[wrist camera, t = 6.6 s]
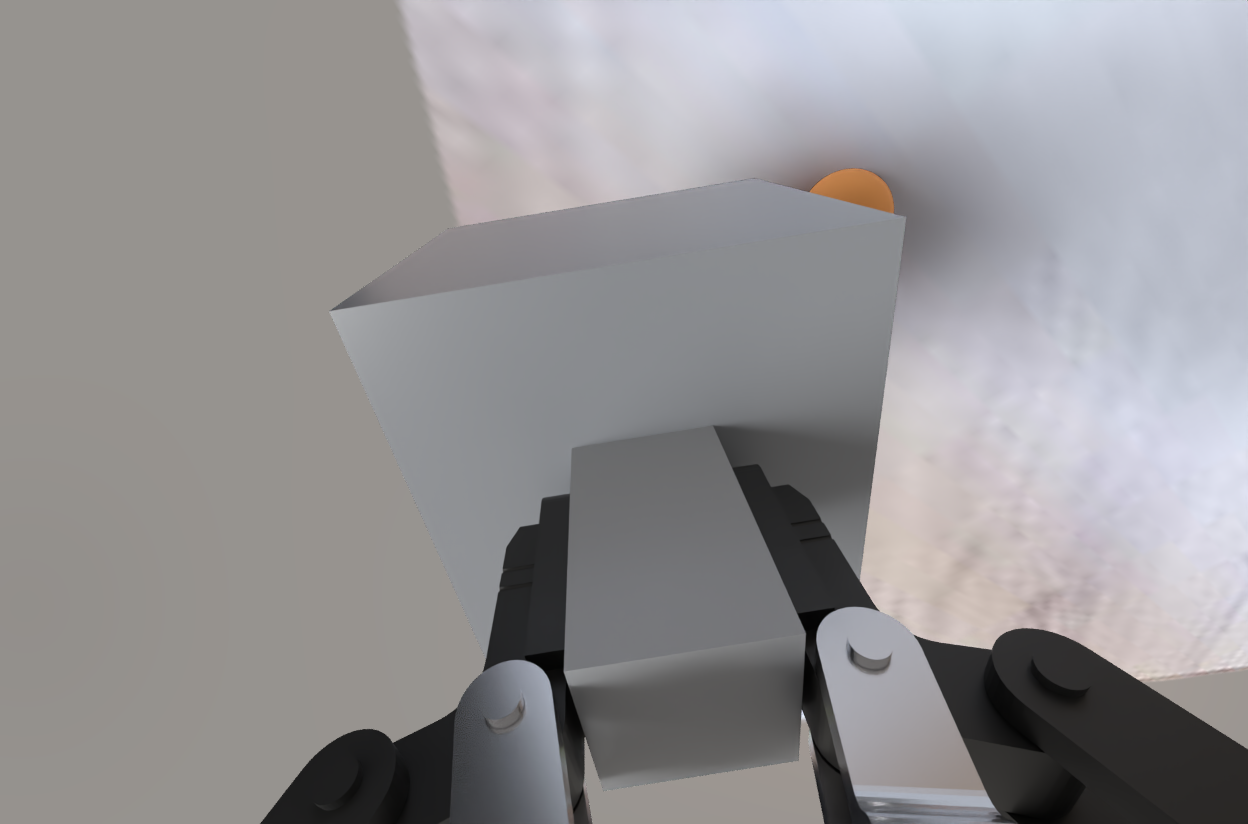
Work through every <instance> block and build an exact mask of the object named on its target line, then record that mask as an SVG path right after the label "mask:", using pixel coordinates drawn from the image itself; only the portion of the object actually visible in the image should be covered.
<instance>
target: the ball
mask: <svg viewBox="0 0 1248 824" xmlns="http://www.w3.org/2000/svg"><path fill="white" fill-rule="evenodd" d="M810 193H814V194H818V195H822V196H826V197H830V198H834V199H838V200H842V201H846V202H850V203H853V204H857V205H861V206H865V207H869V208H873V209H877V210H881V211H885V212H889V213H893V214H894V202H893V197H892V194H891V191H890V189H889V187H888V186H887V184H886V183H885V182H884V181H883V180H882V179H881V178H880V177H879V176H877V175H876V174H874V173H872V172H870V171H867V170H863V169H856V168H851V169H843V170H839V171H837V172H834V173H831V174H829V175H828V176H826V177H824V178H823V179H822V180H820V181H819V182H818V183H817V184H816V185H815V186H814V187H813V188H812V189H811V190H810Z"/></svg>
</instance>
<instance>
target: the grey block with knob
mask: <svg viewBox="0 0 1248 824" xmlns="http://www.w3.org/2000/svg"><path fill="white" fill-rule="evenodd" d="M906 218H907V217H904V216H900V215H897V214H893V213H889V212H885V211H881V210H877V209H873V208H869V207H865V206H861V205H857V204H853V203H850V202H846V201H842V200H838V199H834V198H830V197H826V196H822V195H818V194H814V193H810V192H806V191H803V190H799V189H795V188H791V187H787V186H783V185H779V184H775V183H771V182H767V181H763V180H759V179H756V178H753V179H747V180H741V181H735V182H729V183H722V184H716V185H710V186H704V187H698V188H692V189H686V190H680V191H674V192H668V193H661V194H655V195H649V196H643V197H637V198H631V199H625V200H619V201H613V202H607V203H600V204H594V205H588V206H582V207H576V208H570V209H564V210H558V211H552V212H546V213H539V214H533V215H527V216H521V217H515V218H509V219H503V220H497V221H491V222H485V223H478V224H472V225H466V226H460V227H454V228H448V229H446V230H445V231H444V232H442V233H441V234H439V235H438V236H436V237H435V238H433V239H432V240H431V241H429V242H428V243H427V244H425V245H423V246H422V247H421V248H419V249H418V250H416V251H415V252H413V253H412V254H410V255H409V256H408V257H406V258H405V259H403V260H402V261H400V262H399V263H398V264H396V265H395V266H393V267H392V268H390V269H389V270H388V271H386V272H385V273H383V274H382V275H380V276H379V277H377V278H376V279H375V280H373V281H372V282H370V283H369V284H367V285H366V286H365V287H363V288H362V289H360V290H359V291H357V292H356V293H355V294H353V295H352V296H350V297H349V298H347V299H346V300H344V301H343V302H342V303H340V304H339V305H338V306H336V307H334V308H333V309H332V310H330V311H329V312H330V314H331V317H332V319H333V321H334V323H335V325H336V328H337V330H338V332H339V334H340V337H341V339H342V341H343V343H344V345H345V347H346V350H347V352H348V354H349V357H350V358H351V361H352V363H353V365H354V368H355V370H356V372H357V374H358V377H359V379H360V381H361V383H362V385H363V388H364V390H365V392H366V394H367V397H368V399H369V401H370V403H371V405H372V407H373V410H374V412H375V414H376V416H377V419H378V421H379V423H380V425H381V428H382V430H383V432H384V434H385V437H386V439H387V441H388V443H389V445H390V447H391V450H392V452H393V454H394V457H395V459H396V461H397V463H398V465H399V467H400V470H401V472H402V474H403V476H404V479H405V481H406V483H407V485H408V488H409V490H410V492H411V494H412V497H413V499H414V501H415V503H416V505H417V508H418V510H419V512H420V514H421V517H422V519H423V521H424V523H425V525H426V528H427V530H428V532H429V534H430V536H431V539H432V541H433V543H434V545H435V548H436V549H437V552H438V554H439V556H440V559H441V561H442V563H443V565H444V568H445V570H446V572H447V574H448V576H449V579H450V581H451V583H452V585H453V588H454V590H455V592H456V594H457V596H458V599H459V601H460V603H461V605H462V608H463V610H464V612H465V614H466V616H467V619H468V621H469V623H470V625H471V628H472V630H473V632H474V634H475V636H476V639H477V641H478V643H479V645H480V648H481V650H482V652H483V654H484V656H485V659H486V656H487V651H488V645H489V640H490V634H491V629H492V623H493V618H494V612H495V607H496V602H497V596H498V592H499V591H500V589H499V585H500V580H501V574H502V573H503V563H504V558H505V552H506V547H507V545H508V544H509V542H510V541H511V539H512V538H513V536H514V535H515V534H516V532H517V531H518V529H519V528H520V527H522V526H528V525H534V524H539V518H540V509H541V501H542V498H545V497H551V496H557V495H563V494H570V509H569V538H568V566H567V594H566V622H565V650H564V674H565V677H566V680H567V683H568V686H569V689H570V692H571V695H572V698H573V701H574V704H575V707H576V710H577V713H578V716H579V719H580V722H581V725H582V728H583V731H584V734H585V737H586V740H587V743H588V746H589V749H590V752H591V755H592V758H593V761H594V764H595V767H596V770H597V773H598V776H599V779H600V782H601V785H602V788H603V791H607V790H613V789H619V788H626V787H632V786H639V785H645V784H651V783H658V782H665V781H671V780H677V779H684V778H690V777H696V776H703V775H709V774H715V773H722V772H728V771H735V770H741V769H747V768H754V767H761V766H767V765H774V764H780V763H787V762H793V761H798V760H799V745H800V727H801V711H802V693H803V676H804V658H805V641H806V633H805V630H804V628H803V626H802V624H801V621H800V619H799V617H798V615H797V613H796V610H795V608H794V606H793V604H792V601H791V599H790V597H789V595H788V592H787V590H786V588H785V586H784V583H783V581H782V579H781V577H780V574H779V572H778V570H777V568H776V566H775V563H774V561H773V559H772V557H771V554H770V552H769V550H768V548H767V545H766V543H765V541H764V539H763V536H762V534H761V532H760V530H759V527H758V525H757V523H756V521H755V519H754V516H753V514H752V512H751V510H750V507H749V505H748V503H747V501H746V498H745V496H744V494H743V492H742V489H741V487H740V485H739V483H738V480H737V478H736V476H735V474H734V472H733V469H732V468H734V467H740V466H747V465H753V464H758V465H759V466H760V467H761V469H762V471H763V473H764V475H765V476H766V478H767V480H768V482H769V484H770V486H771V487H775V486H781V485H787V484H789V485H790V486H792V487H793V488H795V489H796V490H797V491H799V492H800V493H801V494H803V495H804V496H805V497H807V498H808V499H809V500H810V501H811V503H812V505H813V506H814V508H815V509H816V511H817V513H818V514H819V516H820V518H821V521H822V523H824V524H825V526H826V527H827V529H828V531H829V532H830V534H831V537H832V539H834V540H835V542H836V544H837V545H838V547H839V548H840V550H841V552H842V553H843V555H844V557H845V558H846V560H847V561H848V563H849V565H850V566H851V568H852V569H853V571H854V573H855V574H856V576H857V578H858V579H859V581H860V574H861V566H862V558H863V550H864V543H865V535H866V527H867V519H868V512H869V504H870V496H871V488H872V481H873V473H874V465H875V457H876V450H877V442H878V434H879V427H880V419H881V411H882V403H883V396H884V388H885V380H886V372H887V365H888V357H889V349H890V341H891V334H892V326H893V318H894V310H895V303H896V295H897V287H898V279H899V272H900V264H901V256H902V249H903V241H904V233H905V225H906Z"/></svg>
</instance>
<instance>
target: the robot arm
mask: <svg viewBox="0 0 1248 824" xmlns="http://www.w3.org/2000/svg"><path fill="white" fill-rule="evenodd" d="M732 469H733V472H734V474H735V476H736V478H737V480H738V483H739V485H740V487H741V489H742V492H743V494H744V496H745V498H746V501H747V503H748V505H749V507H750V510H751V512H752V514H753V516H754V519H755V521H756V523H757V525H758V527H759V530H760V532H761V534H762V536H763V539H764V541H765V543H766V545H767V548H768V550H769V552H770V554H771V557H772V559H773V561H774V563H775V566H776V568H777V570H778V572H779V574H780V577H781V579H782V581H783V583H784V586H785V588H786V590H787V592H788V595H789V597H790V599H791V601H792V604H793V606H794V608H795V610H796V613H797V615H798V617H799V619H800V621H801V624H802V626H803V628H804V630H805V633H806V641H805V658H804V676H803V693H802V710H803V713H804V716H805V718H806V721H807V724H808V726H809V749H810V754H811V759H812V764H813V769H814V774H815V779H816V784H817V789H818V795H819V799H820V804H821V809H822V814H823V819H824V824H1248V749H1246V748H1245V747H1243V746H1241V745H1240V744H1238V743H1237V742H1235V741H1234V740H1232V739H1231V738H1229V737H1227V736H1226V735H1224V734H1223V733H1221V732H1219V731H1218V730H1216V729H1215V728H1213V727H1212V726H1210V725H1208V724H1207V723H1205V722H1204V721H1202V720H1200V719H1199V718H1197V717H1196V716H1194V715H1193V714H1191V713H1189V712H1188V711H1186V710H1185V709H1183V708H1181V707H1180V706H1178V705H1177V704H1175V703H1174V702H1172V701H1170V700H1169V699H1167V698H1166V697H1164V696H1162V695H1161V694H1159V693H1158V692H1156V691H1154V690H1153V689H1151V688H1150V687H1148V686H1147V685H1145V684H1143V683H1142V682H1140V681H1139V680H1137V679H1136V678H1134V677H1132V676H1131V675H1129V674H1128V673H1126V672H1125V671H1123V670H1121V669H1120V668H1118V667H1117V666H1115V665H1113V664H1112V663H1110V662H1109V661H1107V660H1106V659H1104V658H1102V657H1101V656H1099V655H1098V654H1096V653H1094V652H1093V651H1091V650H1090V649H1088V648H1086V647H1085V646H1083V645H1081V644H1079V643H1078V642H1076V641H1073V640H1071V639H1069V638H1067V637H1064V636H1062V635H1059V634H1056V633H1053V632H1049V631H1045V630H1039V629H1028V628H1022V629H1015V630H1011V631H1008V632H1006V633H1004V634H1003V635H1001V636H1000V637H999V638H998V639H997V640H996V642H995V644H994V646H993V648H992V650H989V649H982V648H975V647H967V646H960V645H953V644H946V643H939V642H934V641H930V640H926V639H923V638H920V637H917V636H915V635H913V634H912V633H911V632H910V631H909V630H908V629H907V628H906V627H905V626H904V625H902V624H901V623H900V622H899V621H897V620H896V619H894V618H892V617H891V616H889V615H887V614H884V613H882V612H880V611H879V610H878V609H877V608H876V606H875V605H874V603H873V602H872V600H871V599H870V597H869V595H868V594H867V592H866V591H865V589H864V587H863V586H862V584H861V582H860V581H859V579H858V578H857V576H856V574H855V573H854V571H853V569H852V568H851V566H850V565H849V563H848V561H847V560H846V558H845V557H844V555H843V553H842V552H841V550H840V548H839V547H838V545H837V544H836V542H835V540H834V539H832V537H831V534H830V532H829V531H828V529H827V527H826V526H825V524H824V523H822V521H821V518H820V516H819V514H818V513H817V511H816V509H815V508H814V506H813V505H812V503H811V501H810V500H809V499H808V498H807V497H805V496H804V495H803V494H801V493H800V492H799V491H797V490H796V489H795V488H793V487H792V486H790V485H789V484H787V485H781V486H775V487H771V486H770V484H769V482H768V480H767V478H766V476H765V475H764V473H763V471H762V469H761V467H760V466H759V465H758V464H753V465H747V466H740V467H734V468H732ZM569 509H570V494H563V495H557V496H551V497H545V498H542V501H541V509H540V518H539V524H534V525H528V526H522V527H520V528H519V529H518V531H517V532H516V534H515V535H514V536H513V538H512V539H511V541H510V542H509V544H508V545H507V547H506V552H505V558H504V563H503V573H502V574H501V580H500V585H499V589H500V591H499V592H498V596H497V602H496V607H495V612H494V618H493V623H492V629H491V634H490V640H489V645H488V651H487V656H486V662H485V666H484V670H483V673H482V674H480V675H479V676H478V677H477V678H476V679H475V680H474V681H473V682H472V683H471V684H470V685H469V687H468V688H467V689H466V691H465V692H464V694H463V696H462V697H461V700H460V702H459V704H458V707H457V708H456V709H455V710H454V711H453V712H451V713H450V714H448V715H447V716H445V717H443V718H442V719H440V720H438V721H436V722H434V723H432V724H430V725H428V726H426V727H424V728H422V729H420V730H418V731H416V732H414V733H412V734H410V735H408V736H406V737H404V738H402V739H400V740H398V741H396V742H394V743H392V741H391V740H390V738H389V737H387V736H386V735H385V734H384V733H382V732H380V731H377V730H373V729H363V730H357V731H353V732H351V733H348V734H345V735H343V736H341V737H339V738H337V739H336V740H334V741H333V742H331V743H330V744H328V745H327V746H326V747H325V748H323V749H322V750H321V751H319V752H318V753H317V754H316V755H315V756H314V757H313V758H312V759H311V760H310V761H309V763H308V764H307V765H306V766H305V767H304V768H303V770H302V771H301V772H300V773H299V775H298V776H297V777H296V778H295V780H294V781H293V782H292V784H291V785H290V786H289V787H288V789H287V790H286V791H285V793H284V794H283V795H282V797H281V798H280V799H279V800H278V802H277V803H276V804H275V805H274V807H273V808H272V809H271V811H270V812H269V813H268V814H267V816H266V817H265V818H264V820H263V821H262V822H261V823H260V824H592V818H591V811H590V805H589V799H588V793H587V787H586V782H585V778H584V737H585V734H584V731H583V728H582V725H581V722H580V719H579V716H578V713H577V710H576V707H575V704H574V701H573V698H572V695H571V692H570V689H569V686H568V683H567V680H566V677H565V674H564V650H565V622H566V594H567V566H568V538H569Z"/></svg>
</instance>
